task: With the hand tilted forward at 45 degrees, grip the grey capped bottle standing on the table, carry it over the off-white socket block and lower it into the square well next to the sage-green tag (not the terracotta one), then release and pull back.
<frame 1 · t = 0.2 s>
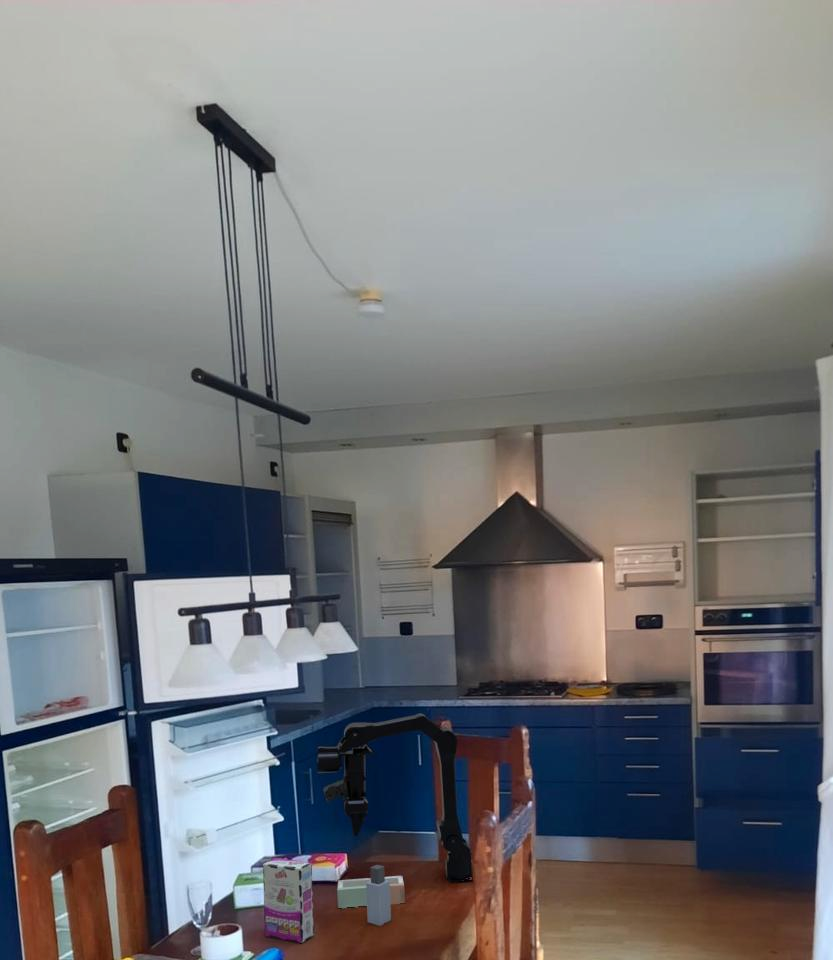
hand: (355, 831, 225), 14 cm above the table, tool pointing down, fingers open, 9 cm apart
grey capped bottle: (379, 921, 201), on the table
candy bar box: (289, 936, 194), on the table
socket block: (371, 898, 215), on the table
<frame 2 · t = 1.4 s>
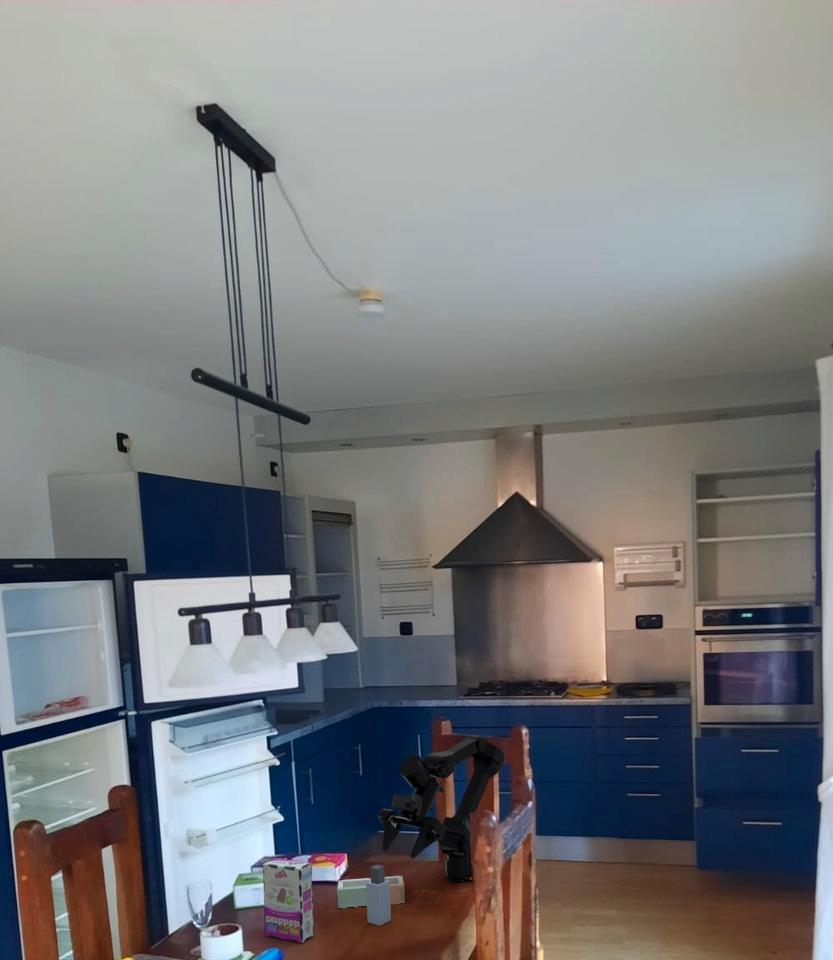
hand: (397, 854, 208), 13 cm above the table, tool tilted 45°, fingers open, 9 cm apart
nothing on the table moved.
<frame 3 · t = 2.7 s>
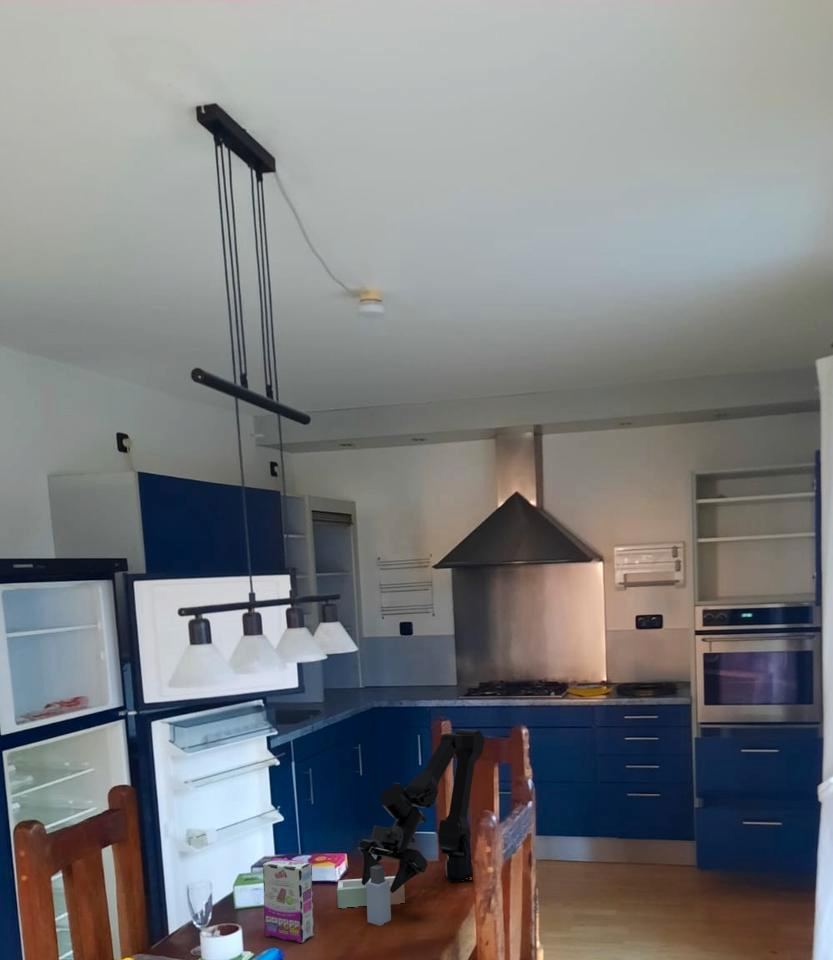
hand: (377, 888, 201), 8 cm above the table, tool tilted 45°, fingers open, 9 cm apart
nothing on the table moved.
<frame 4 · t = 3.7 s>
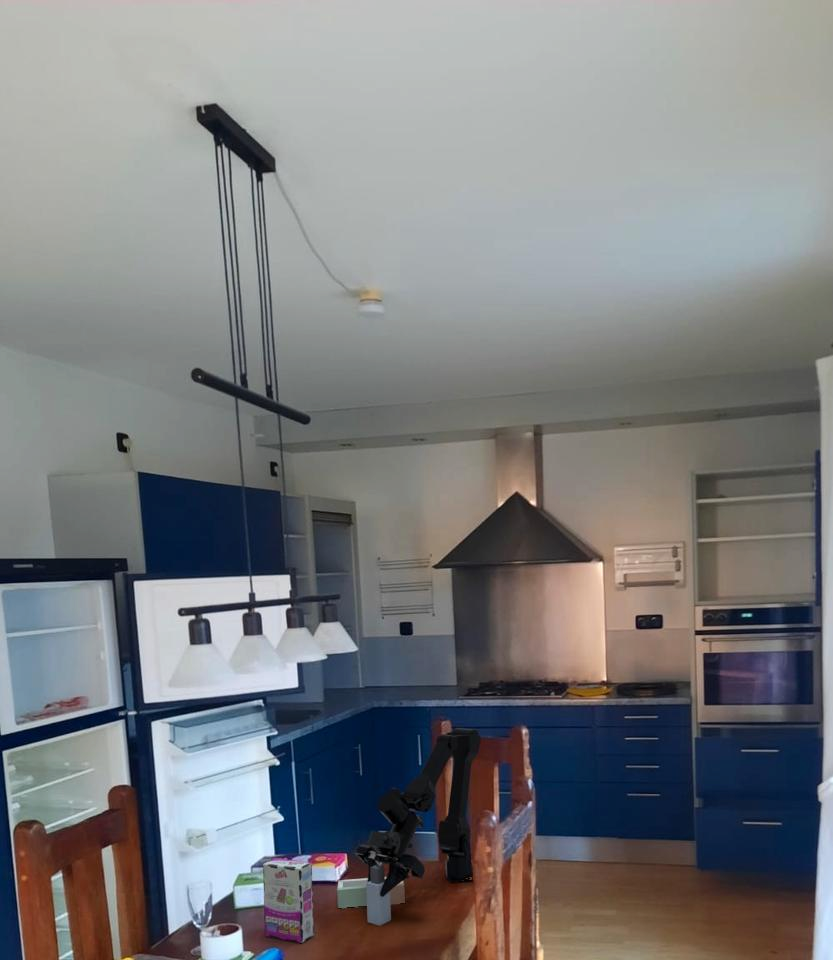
hand: (374, 894, 200), 7 cm above the table, tool tilted 45°, fingers closed on grey capped bottle, 4 cm apart
grey capped bottle: (379, 921, 201), on the table, touching gripper
everything else where it was.
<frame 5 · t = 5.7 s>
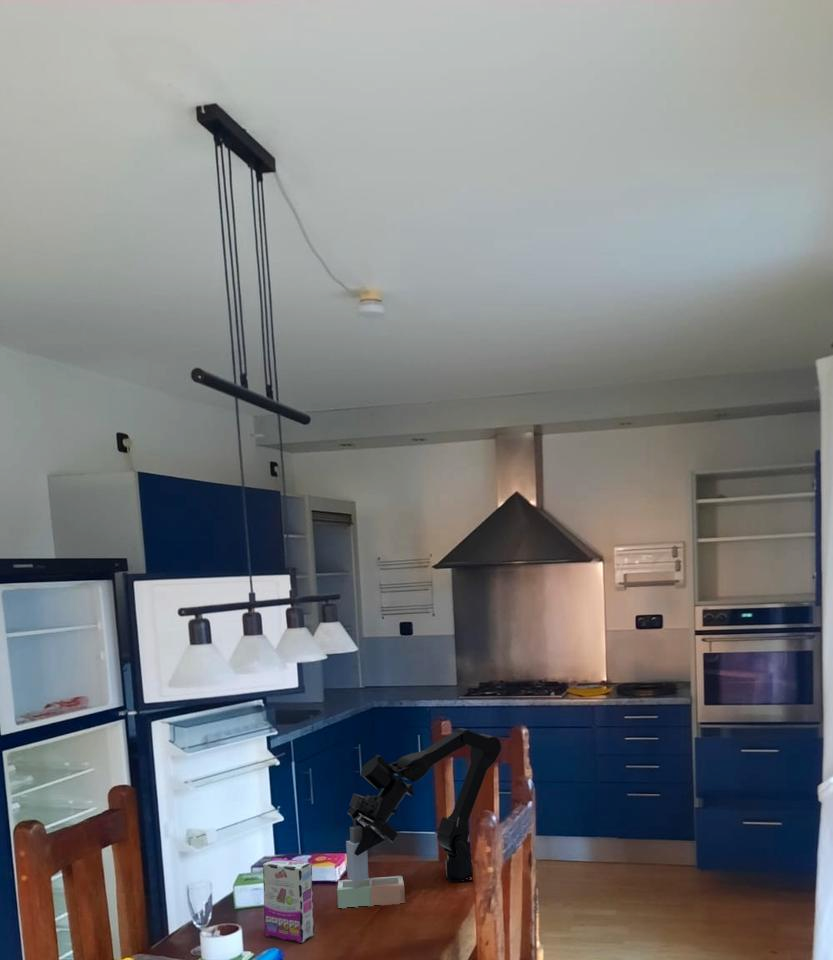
hand: (352, 852, 212), 13 cm above the table, tool tilted 45°, fingers closed on grey capped bottle, 4 cm apart
grey capped bottle: (358, 878, 212), point 6 cm above the table, touching gripper
everything else where it was.
when the fingers open (8 cm above the table, at t = 7.5 s): grey capped bottle drops 1 cm, resting in socket block.
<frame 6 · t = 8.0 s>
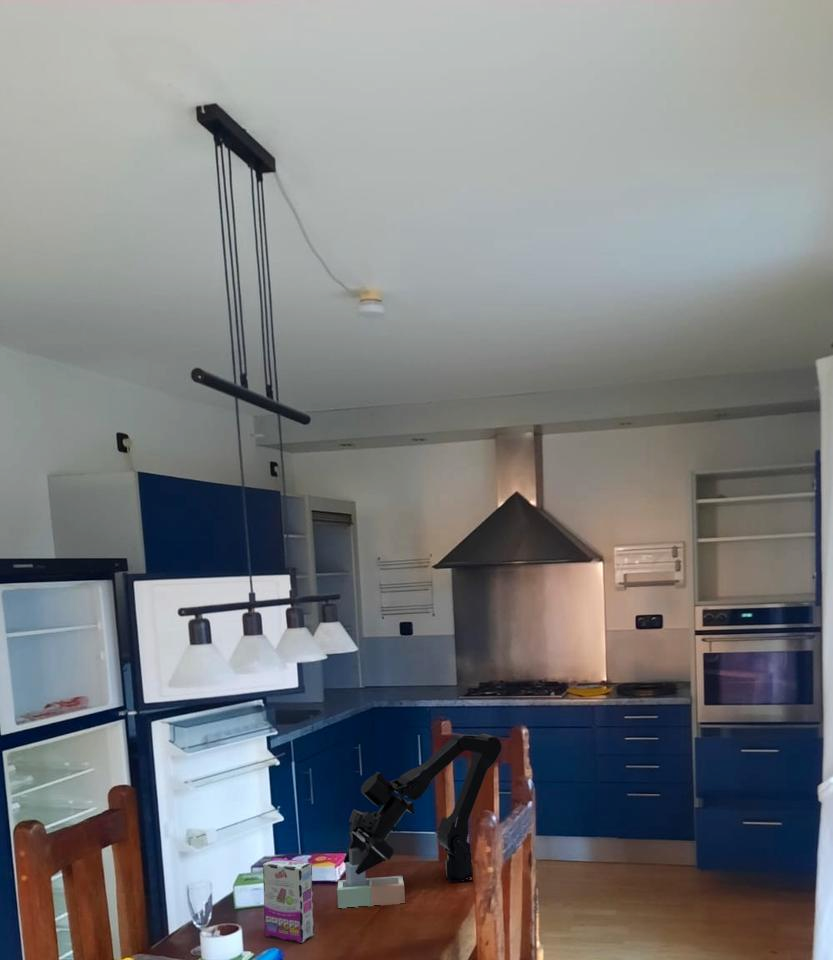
hand: (350, 868, 215), 8 cm above the table, tool tilted 45°, fingers open, 9 cm apart
grey capped bottle: (356, 899, 214), resting in socket block
everything else where it was.
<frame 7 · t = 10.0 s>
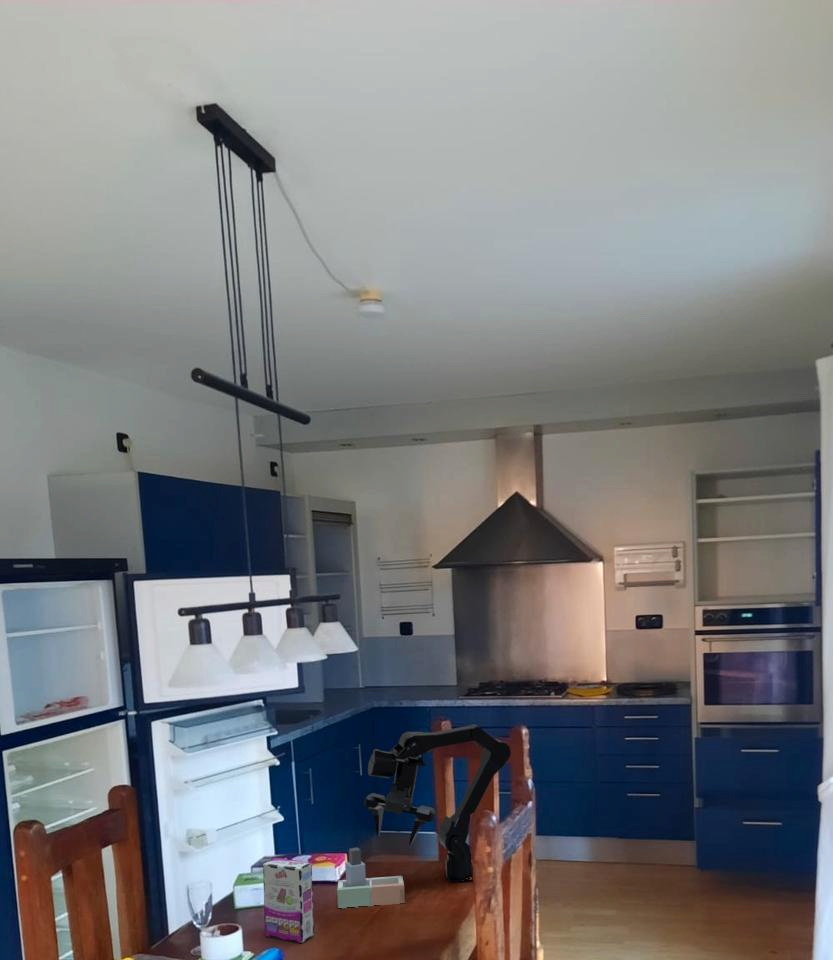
hand: (393, 840, 223), 12 cm above the table, tool pointing down, fingers open, 9 cm apart
nothing on the table moved.
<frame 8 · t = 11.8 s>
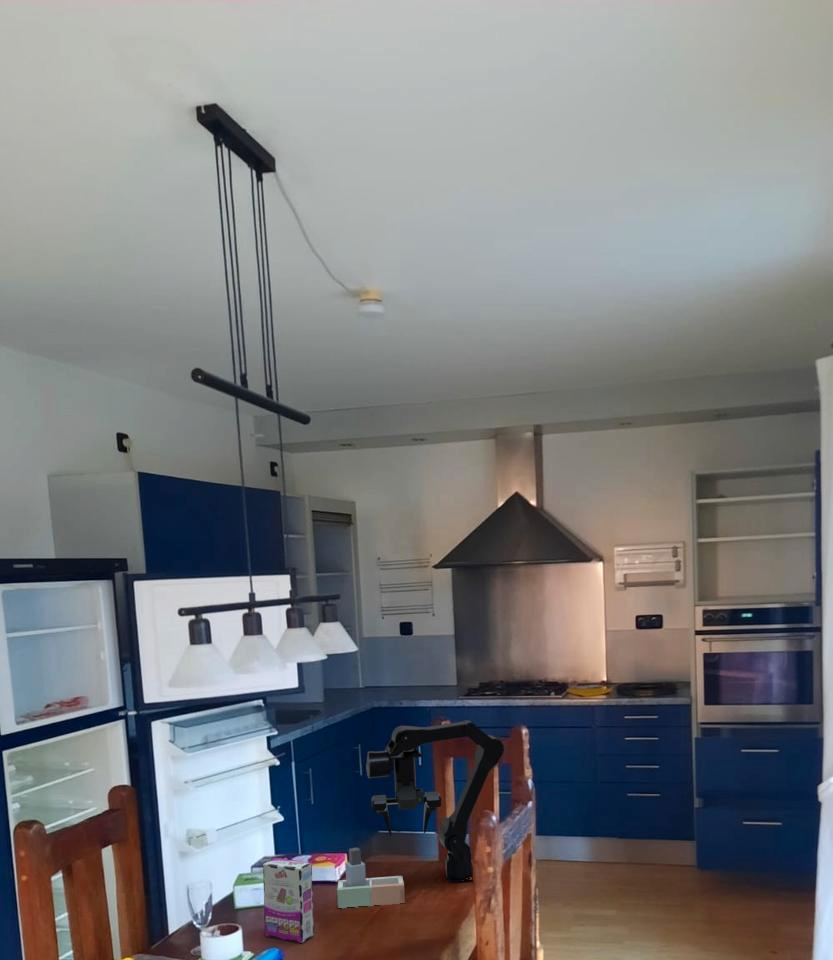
hand: (407, 834, 225), 13 cm above the table, tool pointing down, fingers open, 9 cm apart
nothing on the table moved.
at the end: grey capped bottle 0.1 cm from the target spot, resting in socket block; grey capped bottle tilted 0°; the gripper is holding nothing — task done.
